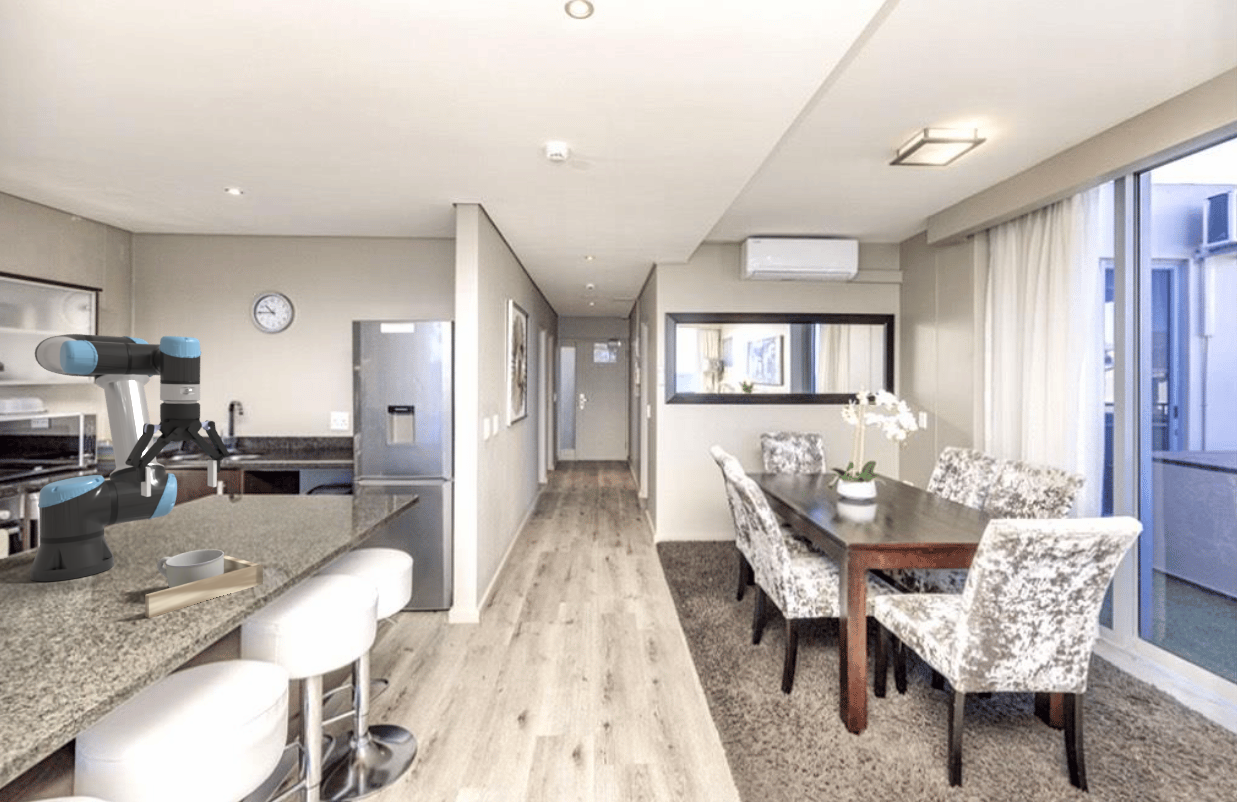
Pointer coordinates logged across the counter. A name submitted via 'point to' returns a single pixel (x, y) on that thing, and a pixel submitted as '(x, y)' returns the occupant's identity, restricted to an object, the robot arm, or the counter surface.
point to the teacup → (191, 566)
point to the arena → (206, 587)
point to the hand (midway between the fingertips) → (180, 490)
